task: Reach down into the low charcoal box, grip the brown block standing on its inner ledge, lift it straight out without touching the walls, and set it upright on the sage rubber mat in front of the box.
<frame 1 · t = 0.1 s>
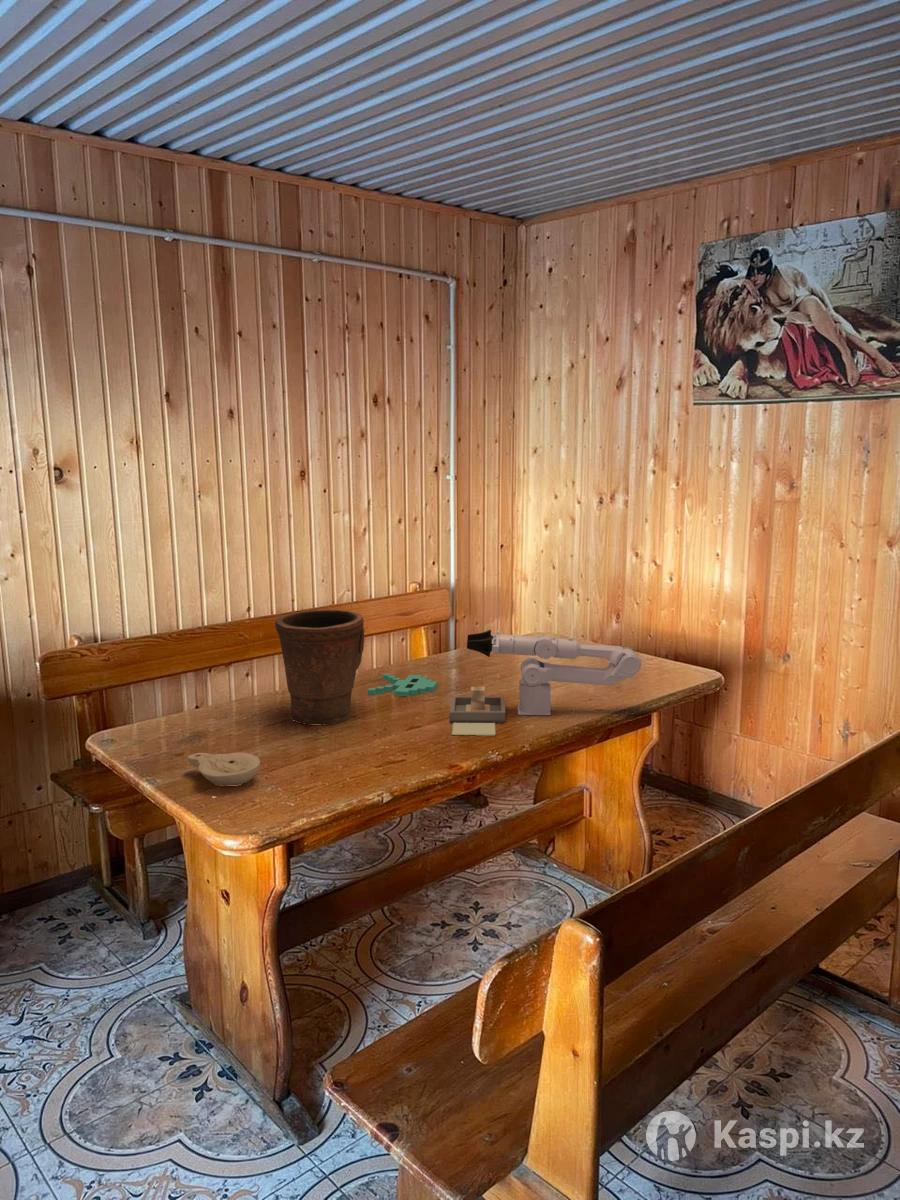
hand: (467, 641, 263), 22 cm above the table, tool horizontal, fingers open, 7 cm apart
clay pot: (327, 714, 266), on the table
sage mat: (473, 729, 250), on the table
oil lamp: (220, 780, 216), on the table
alien figure: (405, 689, 293), on the table
brown block: (477, 708, 264), point 2 cm above the table, touching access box
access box: (477, 714, 264), on the table
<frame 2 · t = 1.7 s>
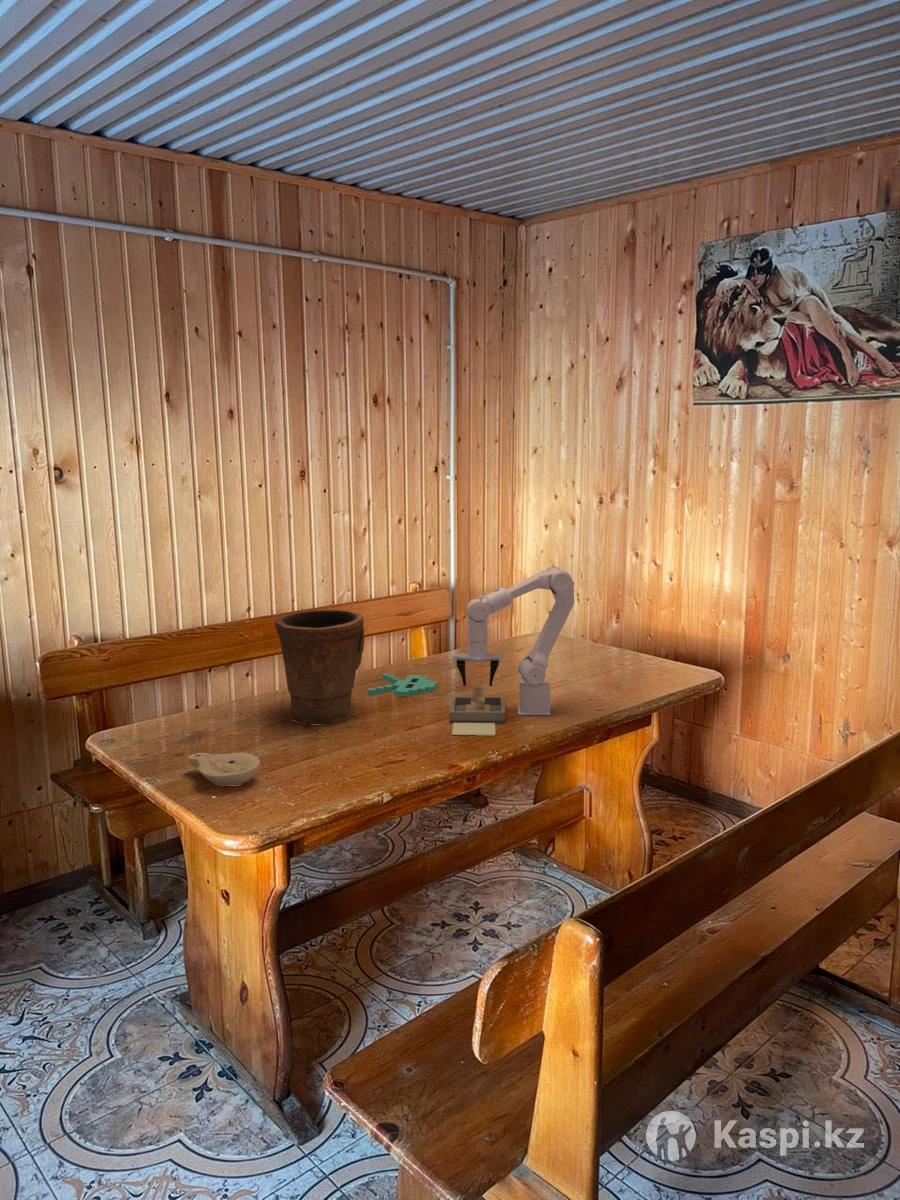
hand: (477, 685, 262), 9 cm above the table, tool pointing down, fingers open, 7 cm apart
nothing on the table moved.
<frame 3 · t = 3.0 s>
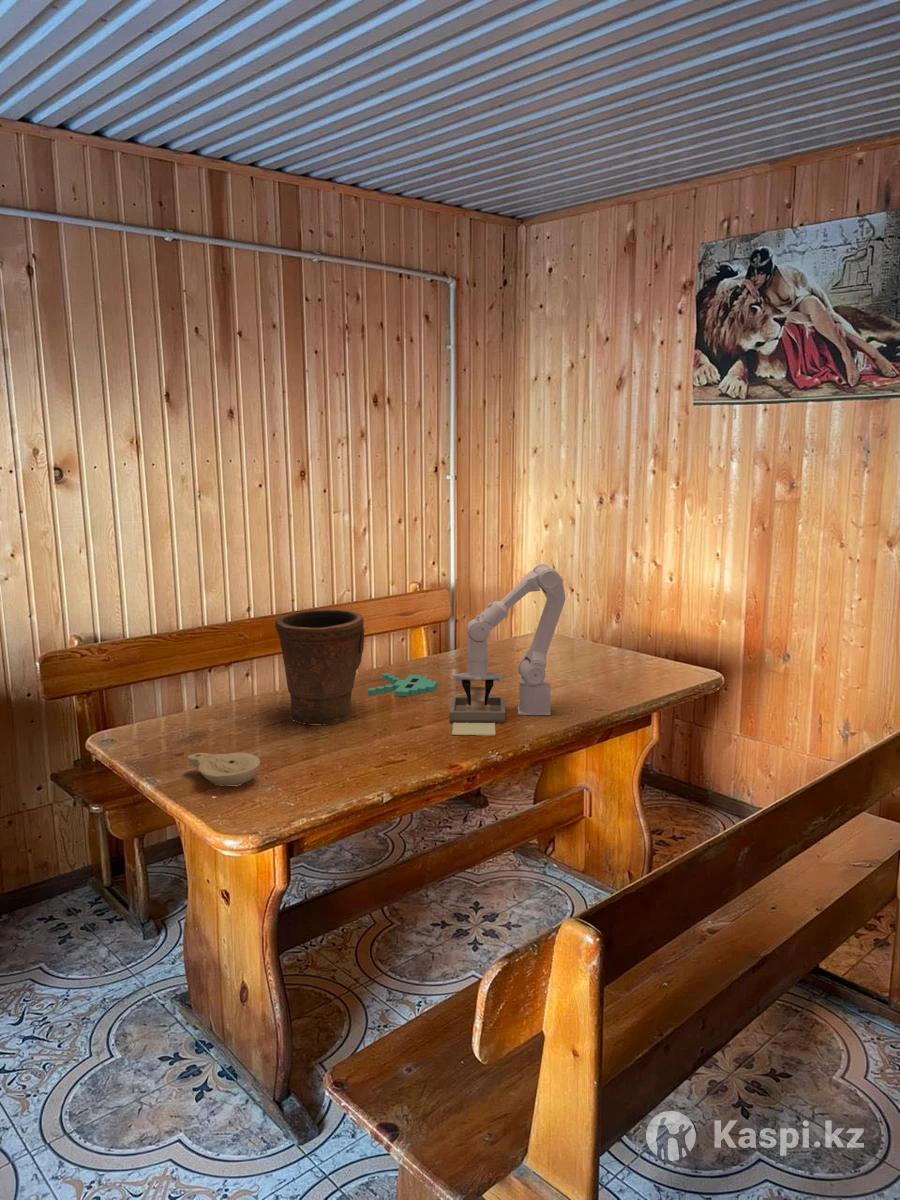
hand: (477, 704, 263), 3 cm above the table, tool pointing down, fingers closed on brown block, 4 cm apart
brown block: (477, 708, 264), point 2 cm above the table, touching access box, gripper
everything else where it was.
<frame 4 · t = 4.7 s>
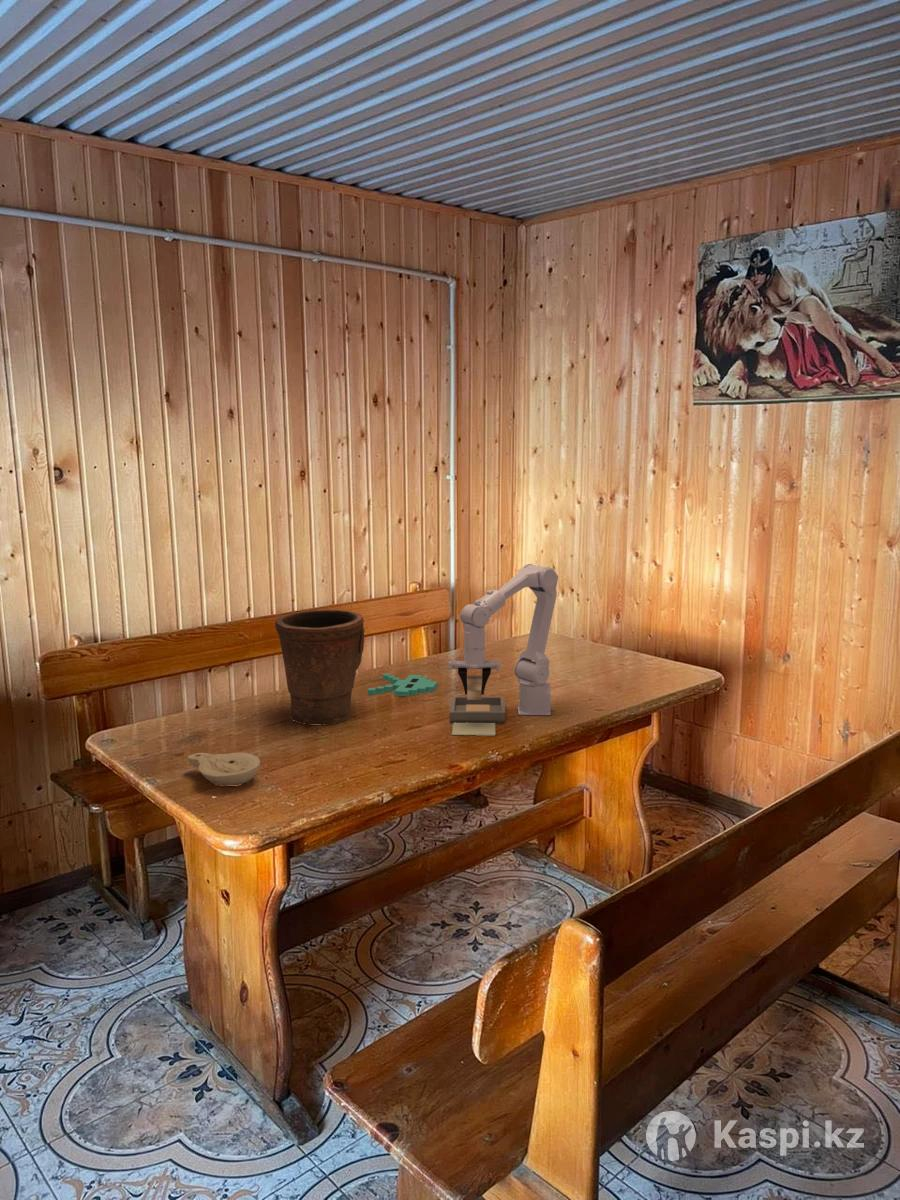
hand: (474, 693, 252), 10 cm above the table, tool pointing down, fingers closed on brown block, 4 cm apart
brown block: (474, 697, 253), point 8 cm above the table, touching gripper
everything else where it was.
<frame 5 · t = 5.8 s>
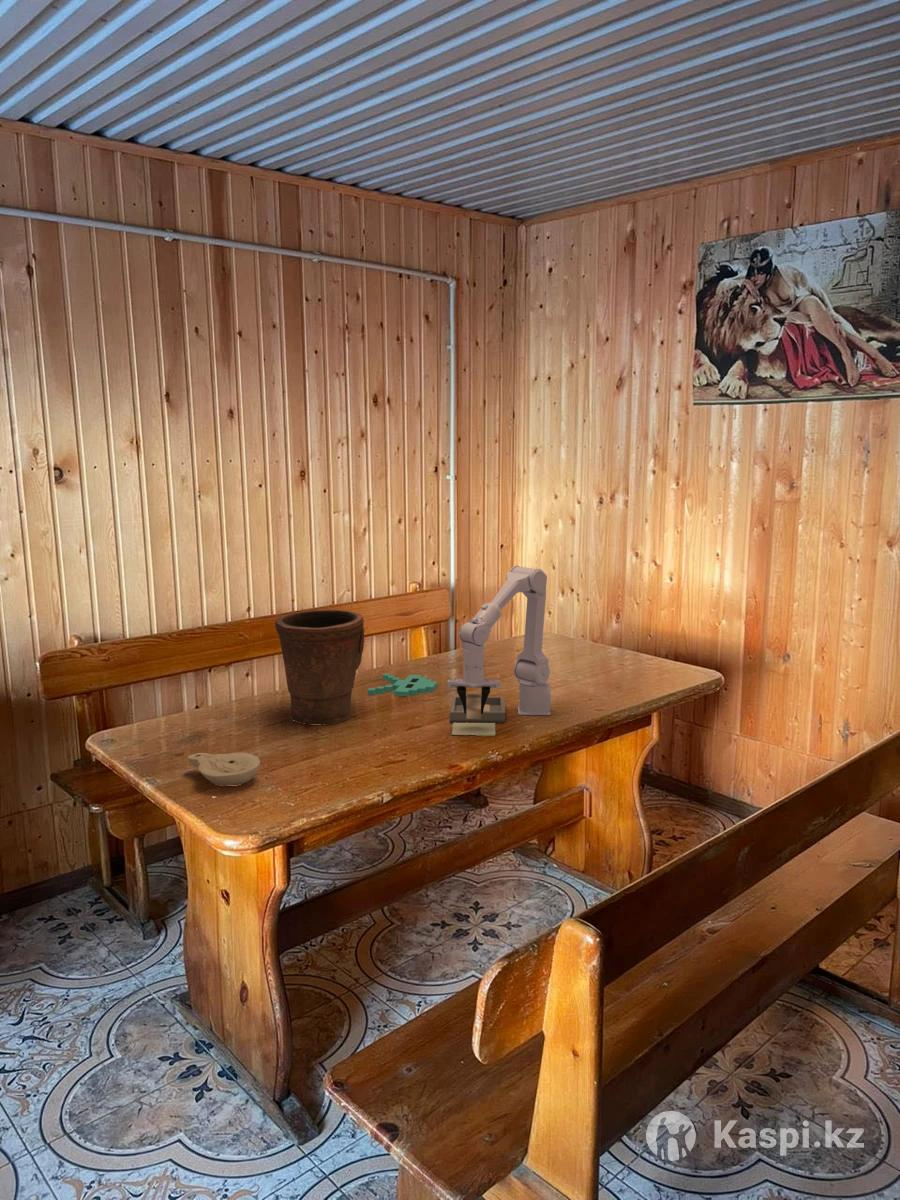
hand: (473, 712, 249), 5 cm above the table, tool pointing down, fingers closed on brown block, 4 cm apart
brown block: (473, 716, 250), point 4 cm above the table, touching gripper
everything else where it was.
when the fingers open (3 cm above the table, at t = 6.6 s): brown block drops 1 cm, resting on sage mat.
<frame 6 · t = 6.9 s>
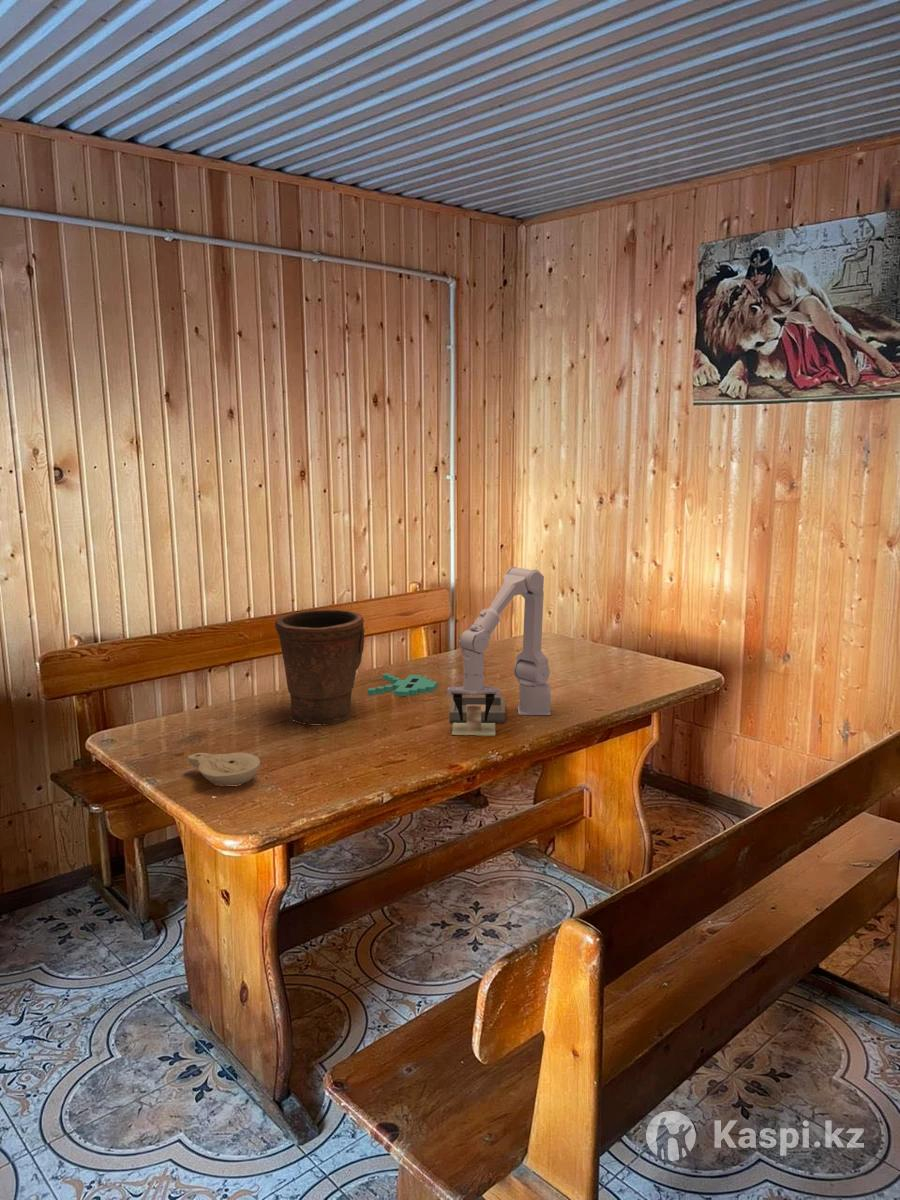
hand: (473, 719, 250), 3 cm above the table, tool pointing down, fingers open, 6 cm apart
brown block: (473, 728, 251), resting on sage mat
everything else where it was.
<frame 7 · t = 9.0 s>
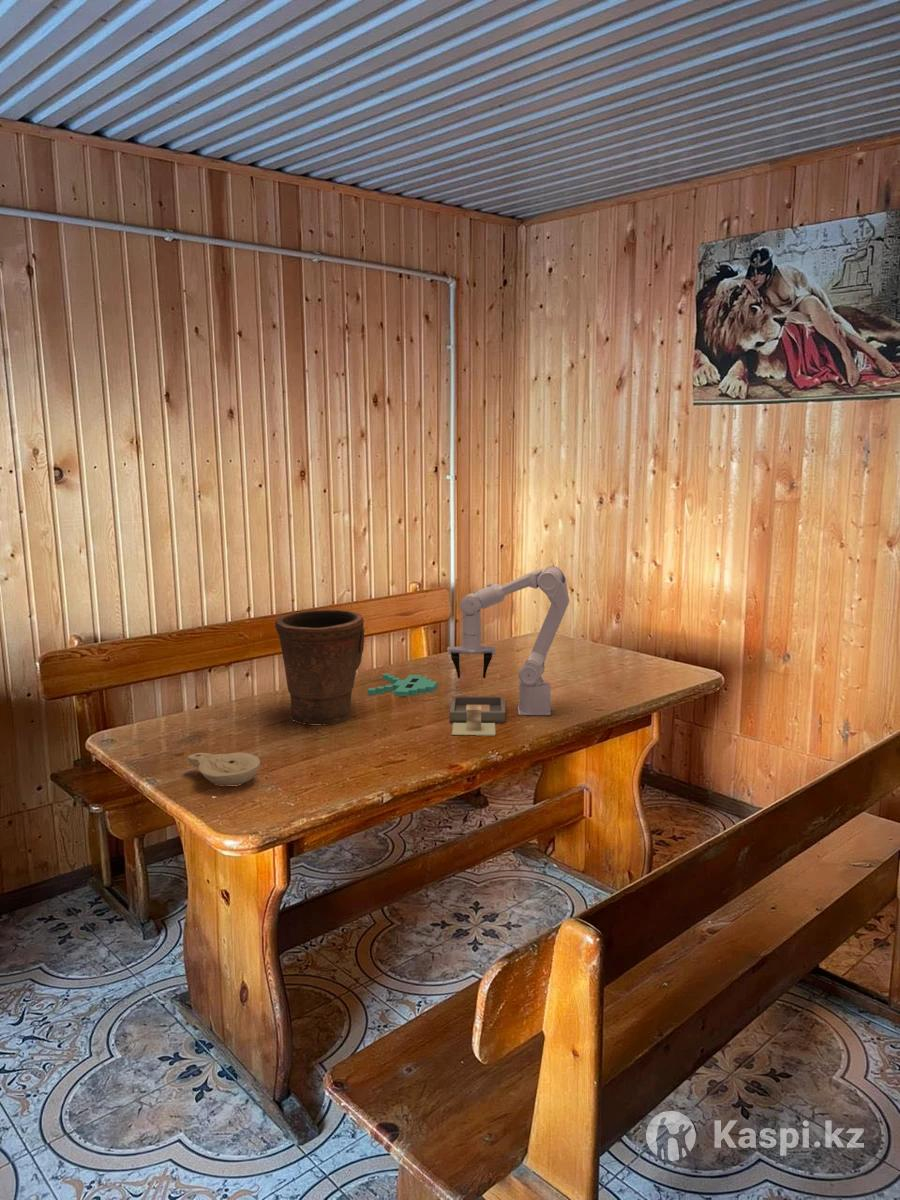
hand: (471, 677, 269), 9 cm above the table, tool pointing down, fingers open, 7 cm apart
nothing on the table moved.
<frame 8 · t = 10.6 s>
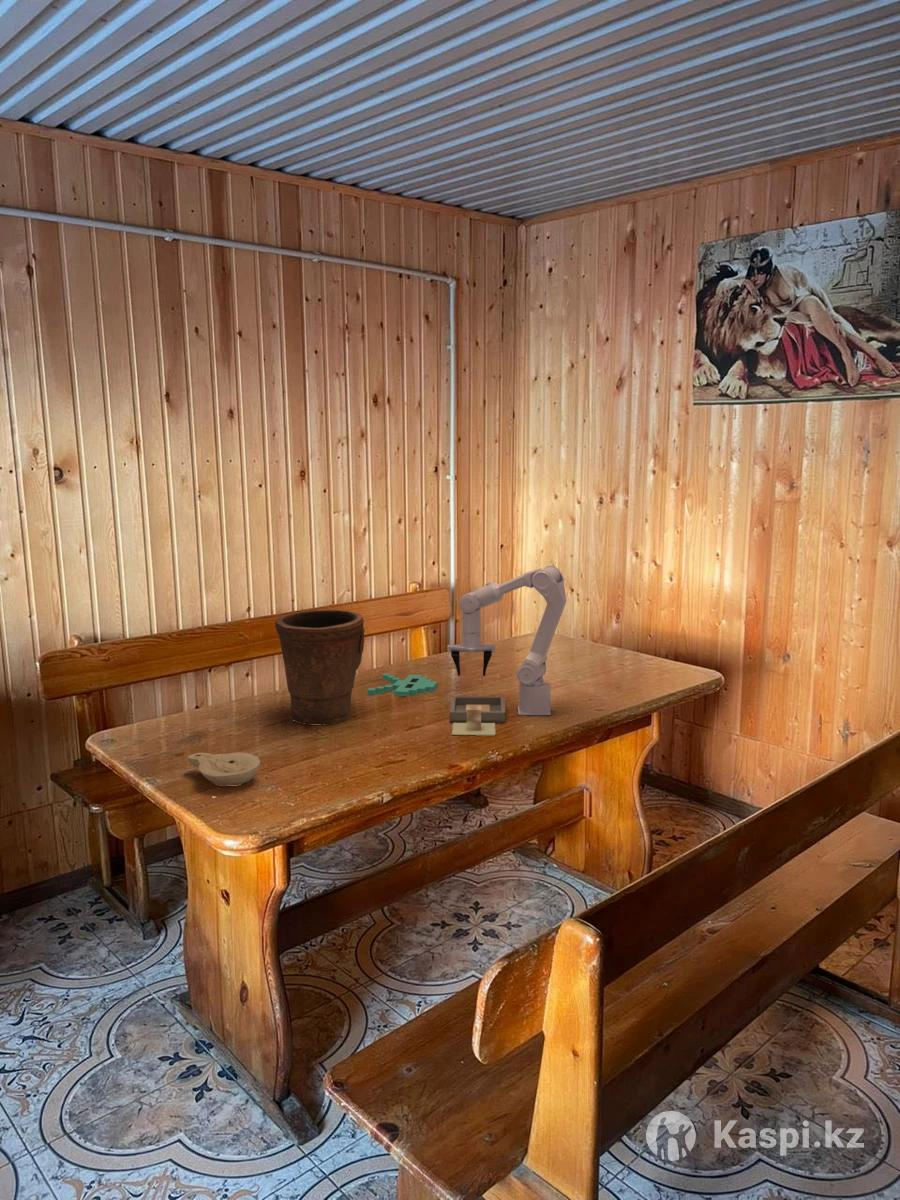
hand: (471, 674, 272), 9 cm above the table, tool pointing down, fingers open, 7 cm apart
nothing on the table moved.
at the end: brown block inside the target area on the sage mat (0.4 cm from its centre), point 0.4 cm above the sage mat's base; brown block tilted 0°; brown block touching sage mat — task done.
